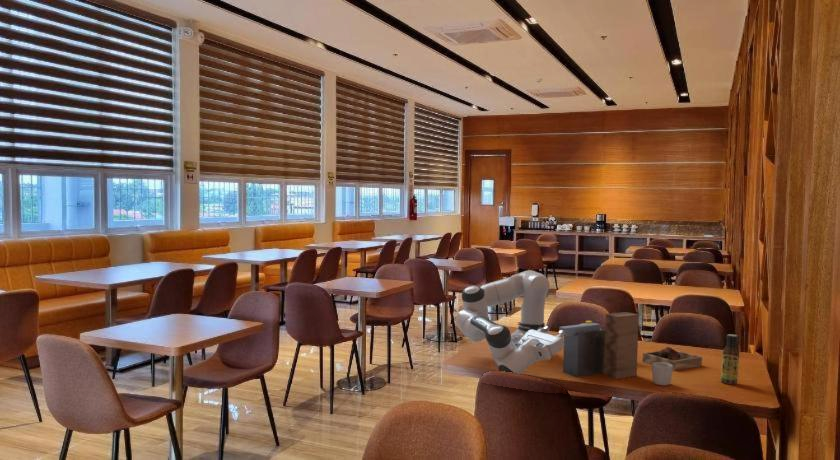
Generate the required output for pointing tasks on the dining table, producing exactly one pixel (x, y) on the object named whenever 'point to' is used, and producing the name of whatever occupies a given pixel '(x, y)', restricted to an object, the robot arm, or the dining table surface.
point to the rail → (579, 328)
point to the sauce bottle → (730, 361)
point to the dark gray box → (584, 353)
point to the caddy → (683, 363)
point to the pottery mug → (665, 353)
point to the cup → (662, 373)
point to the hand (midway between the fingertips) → (555, 329)
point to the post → (621, 345)
